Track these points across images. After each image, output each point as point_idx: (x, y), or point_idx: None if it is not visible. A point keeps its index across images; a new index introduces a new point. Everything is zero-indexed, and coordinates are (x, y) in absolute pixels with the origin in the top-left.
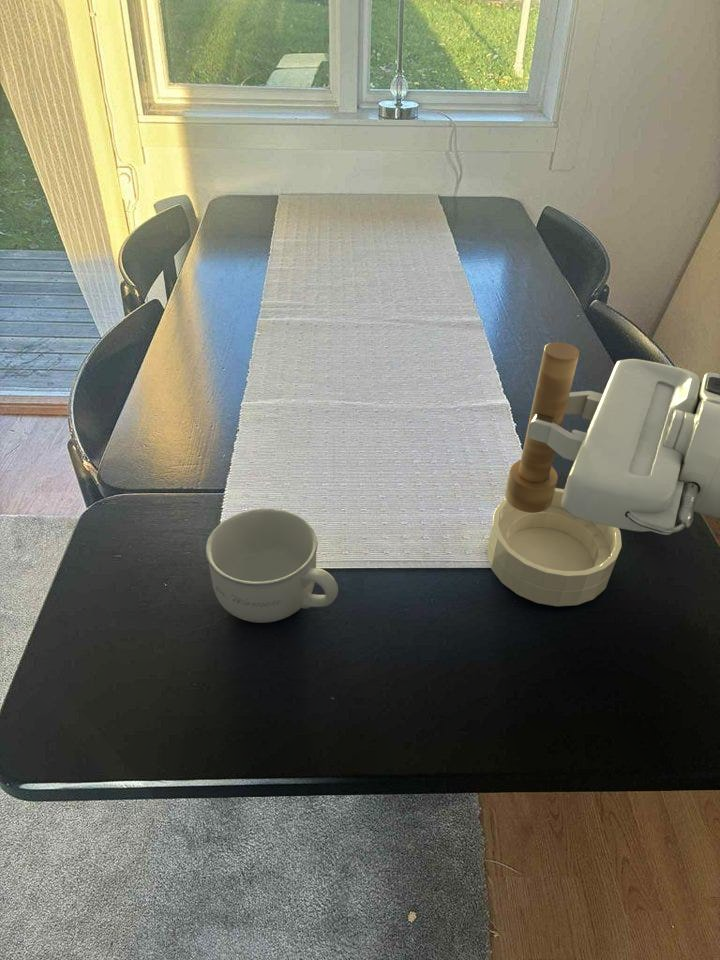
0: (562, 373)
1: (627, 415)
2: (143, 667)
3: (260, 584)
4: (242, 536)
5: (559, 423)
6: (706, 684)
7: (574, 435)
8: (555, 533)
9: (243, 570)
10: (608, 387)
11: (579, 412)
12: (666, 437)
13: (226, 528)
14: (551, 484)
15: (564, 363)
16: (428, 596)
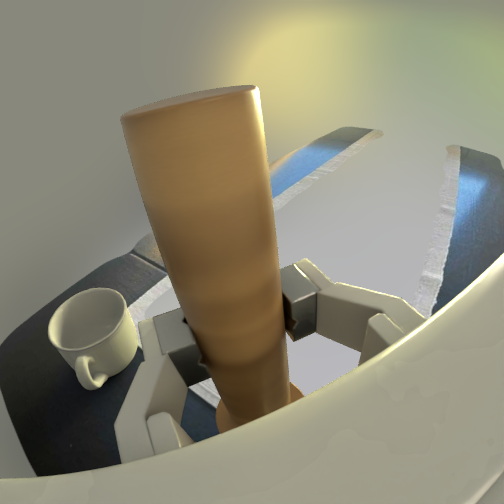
0: (146, 182)
1: (395, 485)
2: (42, 350)
3: (51, 342)
4: (110, 306)
5: (233, 362)
6: None
7: (138, 432)
8: None
9: (111, 330)
10: (448, 308)
11: (360, 348)
12: None
13: (93, 294)
14: None
15: (128, 134)
16: (196, 438)
